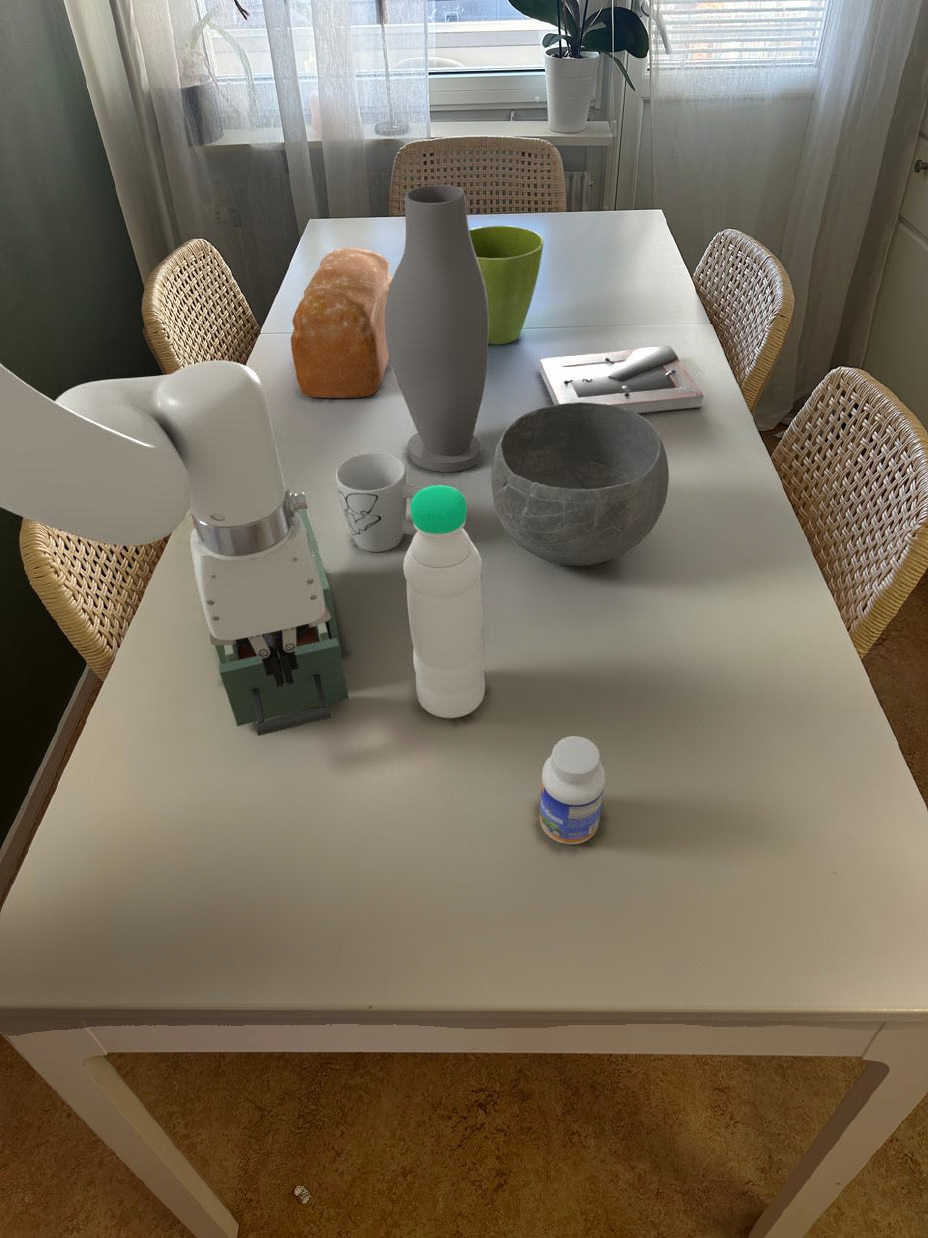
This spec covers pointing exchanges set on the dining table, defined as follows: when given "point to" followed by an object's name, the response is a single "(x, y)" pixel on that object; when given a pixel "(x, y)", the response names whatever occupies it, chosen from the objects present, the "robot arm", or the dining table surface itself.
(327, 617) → the robot arm
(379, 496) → the mug
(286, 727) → the drawer
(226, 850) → the dining table surface
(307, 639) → the brown banded block
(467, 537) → the water bottle
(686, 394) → the picture frame
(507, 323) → the flower pot
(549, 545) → the bowl
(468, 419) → the vase
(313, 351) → the bread
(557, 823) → the pill bottle
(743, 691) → the dining table surface
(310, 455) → the dining table surface
